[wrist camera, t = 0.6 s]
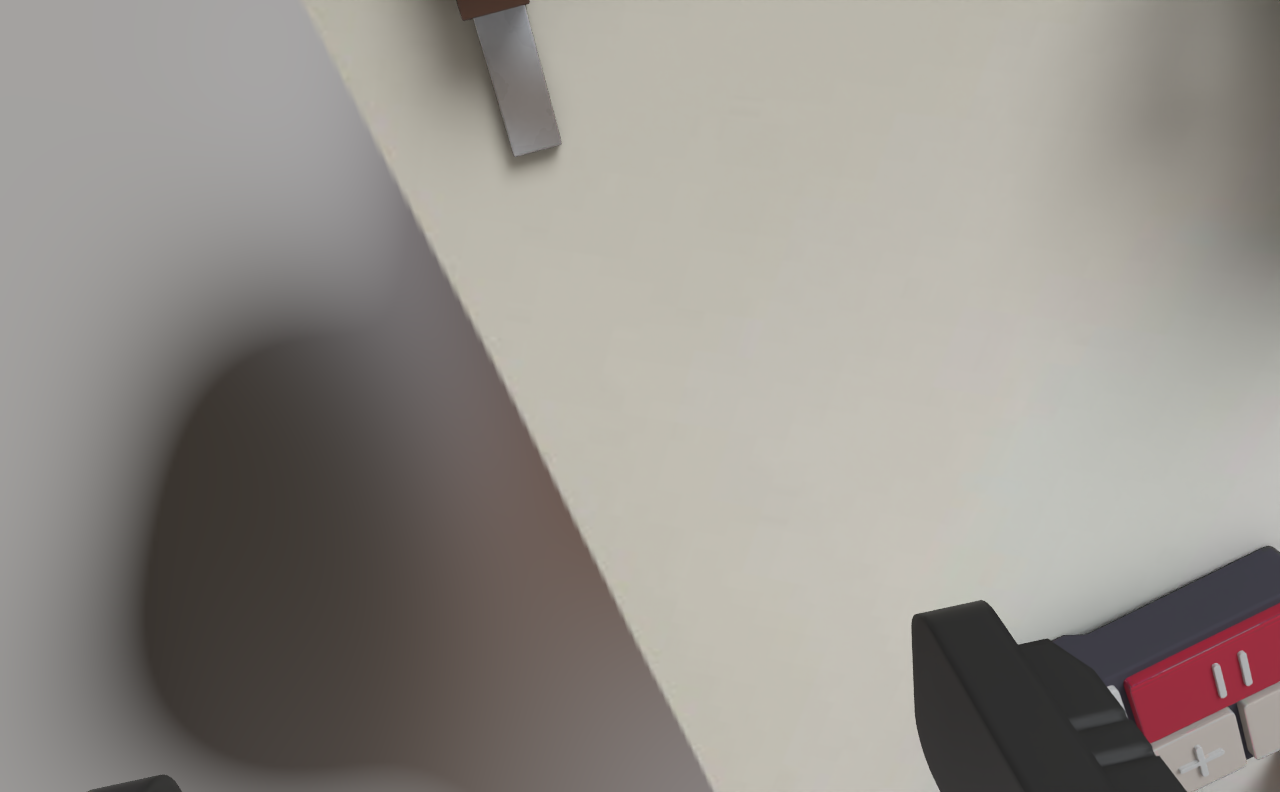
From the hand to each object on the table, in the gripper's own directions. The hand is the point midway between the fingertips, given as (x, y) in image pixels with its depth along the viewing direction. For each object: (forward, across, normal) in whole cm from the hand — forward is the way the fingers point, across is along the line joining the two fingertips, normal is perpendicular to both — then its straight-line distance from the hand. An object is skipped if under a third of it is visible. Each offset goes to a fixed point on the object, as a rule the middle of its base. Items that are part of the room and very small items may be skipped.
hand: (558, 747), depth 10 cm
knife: (+28, 0, -6) cm, 28 cm away
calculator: (+28, -27, +34) cm, 52 cm away
